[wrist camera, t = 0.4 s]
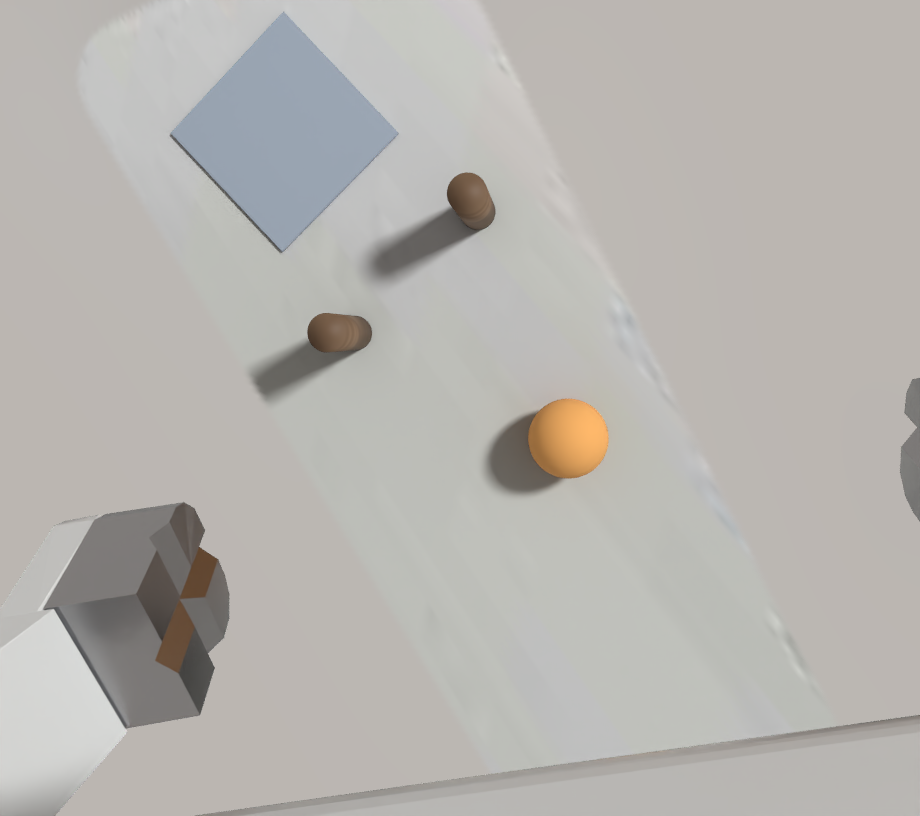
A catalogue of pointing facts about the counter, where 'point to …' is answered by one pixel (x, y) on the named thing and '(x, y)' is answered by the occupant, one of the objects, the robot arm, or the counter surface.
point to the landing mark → (284, 132)
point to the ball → (568, 438)
